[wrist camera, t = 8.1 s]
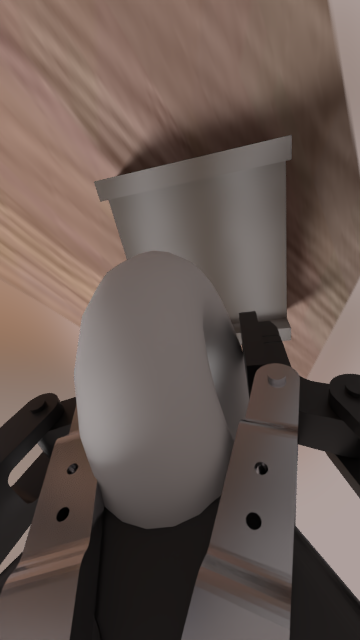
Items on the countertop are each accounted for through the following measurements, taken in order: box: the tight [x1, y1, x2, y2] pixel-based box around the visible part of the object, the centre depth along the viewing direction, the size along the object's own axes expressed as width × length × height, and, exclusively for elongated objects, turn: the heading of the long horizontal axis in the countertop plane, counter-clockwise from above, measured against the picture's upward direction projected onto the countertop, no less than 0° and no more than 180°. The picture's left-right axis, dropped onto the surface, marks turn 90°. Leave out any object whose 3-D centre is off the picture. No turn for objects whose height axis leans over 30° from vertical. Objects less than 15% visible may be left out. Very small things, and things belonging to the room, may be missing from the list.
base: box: [94, 135, 292, 345], centre depth 21 cm, size 12×14×4 cm
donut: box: [74, 251, 249, 529], centre depth 10 cm, size 10×3×10 cm, turn 25°
